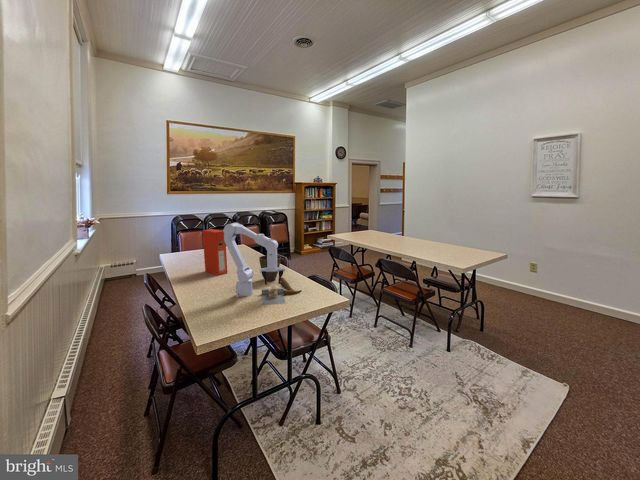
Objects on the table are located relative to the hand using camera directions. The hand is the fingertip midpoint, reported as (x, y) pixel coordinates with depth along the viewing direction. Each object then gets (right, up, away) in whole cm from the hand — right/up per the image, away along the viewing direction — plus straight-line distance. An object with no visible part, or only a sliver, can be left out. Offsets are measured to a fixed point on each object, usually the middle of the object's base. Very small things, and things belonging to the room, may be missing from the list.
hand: (272, 283), depth 180 cm
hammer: (+7, -6, +18) cm, 20 cm away
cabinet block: (0, -7, +1) cm, 7 cm away
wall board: (+1, -9, -3) cm, 9 cm away
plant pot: (-7, -2, +36) cm, 37 cm away
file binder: (-51, +1, +53) cm, 73 cm away
